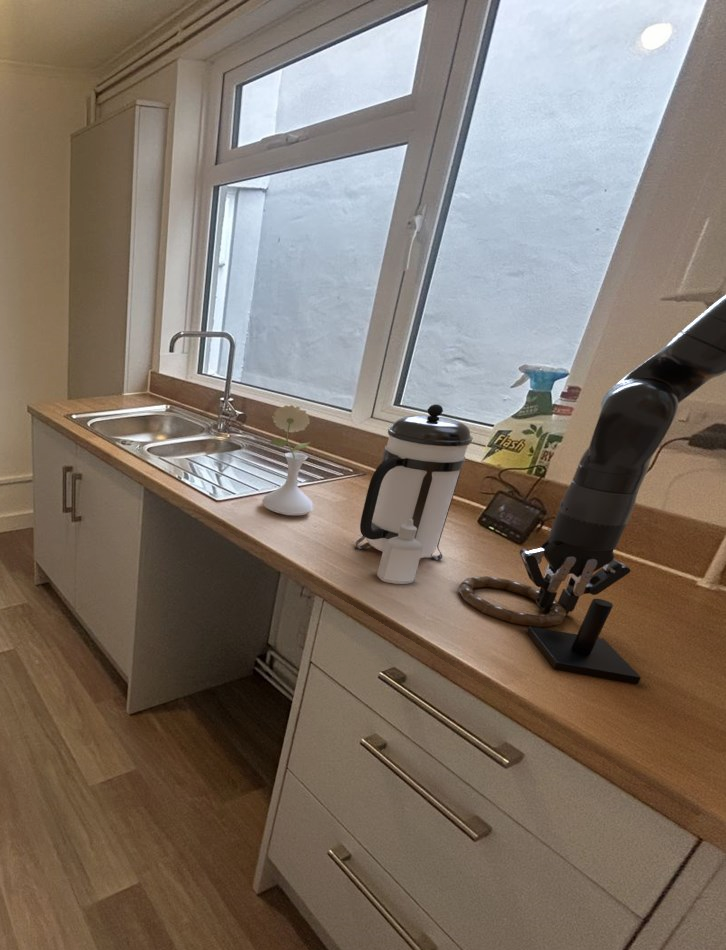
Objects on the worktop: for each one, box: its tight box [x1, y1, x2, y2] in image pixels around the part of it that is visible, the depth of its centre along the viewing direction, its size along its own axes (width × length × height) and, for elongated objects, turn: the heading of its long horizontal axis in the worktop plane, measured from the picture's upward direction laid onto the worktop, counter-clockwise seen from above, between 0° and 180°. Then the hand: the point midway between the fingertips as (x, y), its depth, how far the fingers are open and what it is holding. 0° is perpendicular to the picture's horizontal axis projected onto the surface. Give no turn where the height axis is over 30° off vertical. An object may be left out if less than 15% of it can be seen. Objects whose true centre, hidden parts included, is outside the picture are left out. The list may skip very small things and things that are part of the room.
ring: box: [457, 575, 567, 628], centre depth 88 cm, size 14×14×2 cm
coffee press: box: [355, 403, 473, 561], centre depth 99 cm, size 17×16×30 cm
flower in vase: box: [262, 404, 315, 516], centre depth 122 cm, size 13×11×25 cm
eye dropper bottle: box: [376, 519, 423, 585], centre depth 94 cm, size 4×6×12 cm
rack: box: [526, 598, 642, 685], centre depth 74 cm, size 9×9×9 cm
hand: (552, 610), depth 86 cm, fingers closed on ring, 2 cm apart
